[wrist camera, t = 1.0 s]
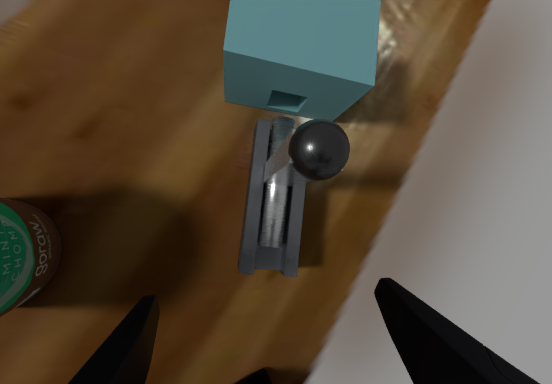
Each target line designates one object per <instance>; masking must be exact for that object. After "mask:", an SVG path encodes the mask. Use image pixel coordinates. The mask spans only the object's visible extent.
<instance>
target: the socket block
mask: <svg viewBox="0 0 552 384" xmlns="http://www.w3.org/2000/svg"><path fill="white" fill-rule="evenodd" d="M380 3H381V0H230V6H229V13H228V20H227V28H226V35H225V42H224V49H223V55H224V92H225V102H230V103H235V104H240V105H245V106H250V107H255V108H261V109H266V110H271V111H276V112H281V113H286V114H291V115H296V116H301V117H306V118H311V119H326V120H330V121H332V122H333V121H334V120H335V119H336V118H337V117H339V116H340V115H341V114H342V113H343V112H345V111H346V110H347V109H348V108H349V107H350V106H352V105H353V104H354V103H355V102H356V101H358V100H359V99H360V98H361V97H362V96H364V95H365V94H366V93H367V92H368V91H369V90H371V89H372V88H373V87H374V86H375V75H376V60H377V46H378V32H379V18H380Z"/></svg>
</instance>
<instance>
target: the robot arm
mask: <svg viewBox="0 0 552 384" xmlns="http://www.w3.org/2000/svg"><path fill="white" fill-rule="evenodd" d="M374 294H375V297H376V300H377V303H378V306H379V308H380V311H381V313H382V316H383V319H384V321H385V324H386V327H387V329H388V331H389V334H390V336H391V338H392V340H393V342H394V344H395V346H396V348H397V350H398V352H399V355H400V357H401V359H402V361H403V363H404V365H405V367H406V369H407V371H408V373H409V375H410V377H411V379H412V381H413V383H414V384H540V383H538V382H537V381H535V380H534V379H532V378H531V377H529V376H528V375H526V374H525V373H523V372H521V371H520V370H519V369H517V368H515V367H514V366H513V365H511V364H510V363H508V362H507V361H505V360H504V359H503V358H501V357H500V356H498V355H497V354H495V353H494V352H493V351H491V350H490V349H488V348H487V347H486V346H483V344H482V343H480V342H479V341H477V340H476V339H475V338H473V337H472V336H470V335H469V334H467V333H466V332H465V331H463V330H462V329H461V328H459V327H458V326H457V325H455V324H454V323H452V322H451V321H450V320H448V319H447V318H445V317H444V316H443V315H441V314H440V313H438V312H437V311H436V310H434V309H433V308H431V307H430V306H429V305H427V304H426V303H424V302H423V301H422V300H420V299H419V298H417V297H416V296H415V295H413V294H412V293H411V292H409V291H408V290H406V289H405V288H404V287H402V286H401V285H399V284H398V283H397V282H395V281H394V280H392V279H391V278H381V279H380V280H379V282H378V284H377V286H376V289H375V292H374ZM159 314H160V309H159V304H158V299H157V296H156V295H148V296H144V297H142V298H141V299H140V301H139V302H138V303H137V304H136V305H135V306H134V308H133V309H132V310H131V311H130V312H129V313H128V314H127V316H126V317H125V318H124V319H123V320H122V321H121V323H120V324H119V325H118V326H117V327H116V328H115V330H114V331H113V332H112V333H111V334H110V335H109V336H108V338H107V339H106V340H105V341H104V342H103V343H102V345H101V346H100V347H99V348H98V349H97V350H96V351H95V353H94V354H93V355H92V356H91V357H90V358H89V360H88V361H87V362H86V363H85V364H84V365H83V367H82V368H81V369H80V370H79V371H78V372H77V373H76V375H75V376H74V377H73V378H72V379H71V380H70V382H69V383H68V384H145V382H146V378H147V375H148V371H149V367H150V363H151V359H152V354H153V348H154V342H155V337H156V331H157V326H158V320H159ZM261 375H264V377H260V376H261ZM236 384H272V383H271V381H270V378H269V376H268V374H267V372H266V370H264V369H261V370H259V371H257V372H256V373H254V374H252V375H251V376H249V377H248V378H246V379H243V380H241V381H239V382H238V383H236Z"/></svg>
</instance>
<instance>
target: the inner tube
mask: <svg viewBox="0 0 552 384" xmlns="http://www.w3.org/2000/svg"><path fill="white" fill-rule="evenodd" d="M349 152H350V145H349V140H348V137H347V135H346V133H345V132H344V130H343V129H342V128H341V127H340V126H339V125H337V124H336V123H334V122H332V121H330V120H326V119H314V120H310V121H308V122H305V123H304V124H302V125H301V126H299V127H298V128H297V129H296V130H295V121H294V120H293V119H291V118H288V117H276V118H274V119H273V124H272V132H271V141H270V150H269V159H268V160H267V162H266V163H265V172H264V180H263V183H266V185H265V194H264V203H263V211H262V220H261V229H260V238H259V245H261V246H265V247H273V248H281V247H282V245H283V236H284V226H285V216H286V207H287V197H288V188H289V186H292V187H297V186H300V185H303V184H306V183H309V182H312V181H315V180H326V179H329V178H331V177H333V176H335V175H336V174H338V173H339V172H341V171H343V167H344V166H345V164H346V163H347V160H348V157H349Z"/></svg>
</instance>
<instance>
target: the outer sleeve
mask: <svg viewBox="0 0 552 384" xmlns="http://www.w3.org/2000/svg"><path fill="white" fill-rule="evenodd" d="M270 124H271V121H267V120H262V119H258V121H257V124H256V127H255V130H254V137H253V145H252V153H251V161H250V170H249V178H248V186H247V194H246V202H245V211H244V219H243V227H242V235H241V244H240V252H239V260H238V268H239V274H253V272H254V269H267V270H279V271H280V272H281V273H282V274H283V275H284V276H290V277H297V270H298V260H299V249H300V239H301V229H302V218H303V208H304V198H305V187H306V184H303V185H300V186H297V187H292V186H289V188H288V197H287V207H286V216H285V226H284V236H283V245H282V247H281V248H273V247H265V246H261V245H259V238H260V229H261V220H262V211H263V203H264V194H265V185H266V183H263V180H264V172H265V163H266V162H267V160H268V159H269V150H270V141H271V132H272V130H271V129H270Z"/></svg>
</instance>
